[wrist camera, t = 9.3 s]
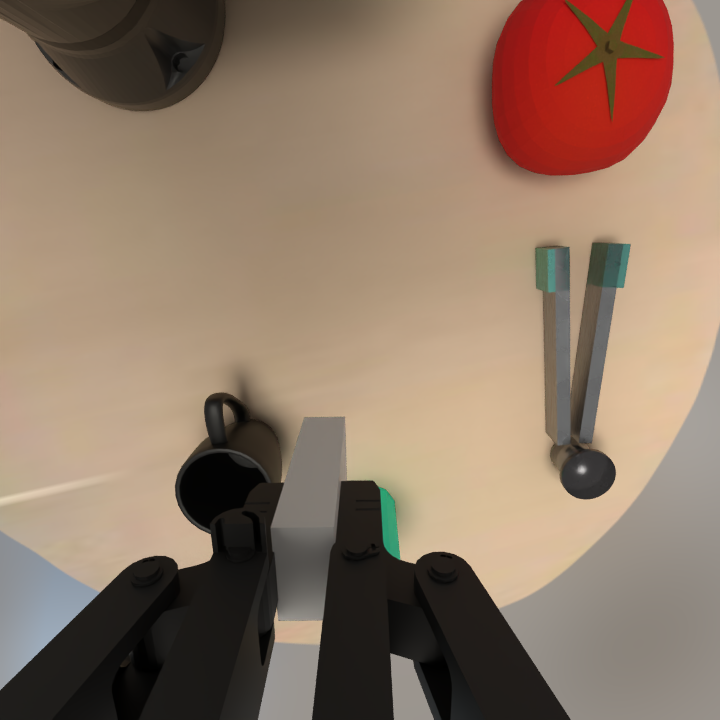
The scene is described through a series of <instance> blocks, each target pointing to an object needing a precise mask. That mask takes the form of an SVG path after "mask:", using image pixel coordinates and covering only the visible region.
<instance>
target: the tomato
mask: <svg viewBox="0 0 720 720" xmlns="http://www.w3.org/2000/svg"><path fill="white" fill-rule="evenodd" d="M673 50H674V42H673V32H672V25H671V21H670V18H669V14H668V10H667V8H666V6H665V4H664V2H663V0H522V1H521V2H520V3H519V4H518V6H517V7H516V8H515V10H514V11H513V12H512V14H511V15H510V16H509V18H508V19H507V21H506V24H505V26H504V28H503V31H502V33H501V35H500V38H499V40H498V42H497V45H496V50H495V56H494V61H493V73H492V108H493V117H494V124H495V128H496V131H497V135H498V138H499V141H500V143H501V144H502V146H503V148H504V150H505V152H506V153H507V155H508V156H509V157H510V158H511V159H512V160H513V161H514V162H515V163H516V164H518V165H519V166H520V167H523V168H525V169H527V170H529V171H532V172H534V173H539V174H545V175H550V176H551V175H576V174H582V173H588V172H593V171H597V170H600V169H604V168H608V167H610V166H612V165H614V164H616V163H618V162H620V161H622V160H623V159H625V158H626V157H627V156H628V155H629V154H630V153H631V152H632V151H633V150H634V149H635V148H636V147H637V146H638V145H639V144H640V143H641V142H642V141H643V140H644V139H645V137H646V136H647V134H648V133H649V131H650V130H651V128H652V127H653V125H654V124H655V122H656V120H657V118H658V116H659V114H660V112H661V110H662V108H663V107H664V105H665V103H666V100H667V97H668V93H669V90H670V87H671V82H672V72H673Z"/></svg>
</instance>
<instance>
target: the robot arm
mask: <svg viewBox="0 0 720 720" xmlns="http://www.w3.org/2000/svg"><path fill="white" fill-rule="evenodd" d="M0 18H1V19H3V20H5V21H7V22H8V23H10V24H12V25H14V26H15V27H17V28H19V29H21V30H22V31H24V32H26V33H27V34H28V35H29V37H30V38H31V39H32V40H34V42H35V43H36V45H37V47H38V48H39V49H40V51H41V52H42V54H43V55H44V56H45V58H46V59H47V60H48V61H49V63H50V64H51V65H52V66H53V67H54V68H55V69H56V70H57V71H58V72H59V73H60V74H61V75H62V76H63V77H64V78H65V79H66V80H68V81H69V82H70V83H71V84H73V85H74V86H75V87H77V88H78V89H80V90H81V91H83V92H85V93H86V94H88V95H90V96H92V97H94V98H96V99H98V100H101V101H103V102H105V103H107V104H109V105H112V106H115V107H118V108H122V109H126V110H134V111H149V110H156V109H161V108H164V107H167V106H170V105H173V104H175V103H177V102H179V101H180V100H182V99H184V98H185V97H187V96H188V95H189V94H191V93H192V92H193V91H194V90H195V89H196V88H197V87H198V86H199V85H200V84H201V83H202V82H203V80H204V79H205V78H206V76H207V75H208V73H209V72H210V70H211V69H212V67H213V65H214V63H215V61H216V58H217V56H218V53H219V50H220V47H221V43H222V39H223V34H224V26H225V3H224V0H0ZM210 530H211V538H212V546H213V555H212V557H211V559H210V561H208V562H205V563H203V564H199V565H196V566H192V567H188V568H183V569H179V570H178V565H177V563H176V562H175V561H174V560H173V559H172V558H169V557H166V556H152V557H148V558H143V559H141V560H139V561H137V562H135V563H132V564H131V565H130V566H128V567H127V568H126V569H124V570H123V571H122V572H121V573H120V574H119V575H118V576H117V577H116V578H115V579H114V580H113V581H112V582H111V583H110V584H109V585H108V586H107V587H106V588H105V589H104V590H103V591H102V592H101V593H99V595H97V596H96V597H95V599H93V600H92V601H91V602H90V603H89V604H88V605H87V606H86V607H85V608H84V609H83V610H82V611H81V612H80V613H79V614H78V615H77V616H76V617H75V618H74V619H73V620H72V621H71V622H70V623H69V624H68V625H67V626H66V627H65V628H64V629H63V630H62V631H61V632H60V633H59V634H57V635H56V637H54V638H53V639H52V640H51V641H50V642H49V643H48V644H47V645H46V646H45V647H44V648H43V649H42V650H41V651H40V652H39V653H38V654H37V655H36V656H35V657H34V658H33V659H32V660H31V661H30V662H29V663H28V664H27V665H26V666H25V667H24V668H23V669H22V670H21V671H20V672H19V673H18V674H17V675H16V676H15V677H14V678H12V679H11V680H10V681H9V682H8V683H7V684H6V685H5V686H4V687H3V688H2V689H1V690H0V720H258V716H259V710H260V706H261V702H262V697H263V692H264V687H265V683H266V678H267V672H268V668H269V664H270V659H271V654H272V650H273V645H274V640H275V629H274V617H275V613H276V608H277V611H278V621H304V620H323V623H322V632H321V642H320V651H319V660H318V670H317V678H316V688H315V697H314V706H313V716H312V720H394V716H393V697H392V678H391V660H390V653H392V654H395V655H399V656H402V657H405V658H408V659H411V660H413V662H414V668H415V670H416V673H417V676H418V678H419V681H420V683H421V686H422V689H423V691H424V694H425V697H426V699H427V702H428V705H429V707H430V710H431V713H432V715H433V718H434V720H570V718H569V716H568V715H567V713H566V712H565V710H564V709H563V707H562V706H561V704H560V703H559V701H558V700H557V698H556V697H555V695H554V694H553V692H552V691H551V689H550V687H549V686H548V684H547V683H546V681H545V680H544V678H543V677H542V675H541V674H540V672H539V671H538V669H537V667H536V666H535V664H534V663H533V661H532V660H531V658H530V657H529V655H528V654H527V652H526V651H525V649H524V648H523V646H522V645H521V643H520V641H519V640H518V639H517V637H516V635H515V634H514V632H513V631H512V629H511V628H510V626H509V625H508V623H507V622H506V620H505V619H504V617H503V615H502V614H501V613H500V611H499V609H498V608H497V606H496V605H495V603H494V602H493V600H492V599H491V597H490V596H489V594H488V592H487V591H486V589H485V588H484V586H483V585H482V583H481V582H480V580H479V579H478V577H477V576H476V574H475V573H474V571H473V570H472V568H471V566H470V565H469V564H468V563H467V562H466V561H465V560H464V559H462V558H461V557H459V556H457V555H455V554H451V553H447V552H432V553H429V554H426V555H423V556H422V557H421V558H420V559H418V560H417V562H416V564H413V563H409V562H405V561H402V560H399V559H397V558H396V557H394V556H392V555H391V554H390V553H389V552H388V551H387V550H386V548H385V547H384V543H383V530H382V512H381V494H380V489H379V487H378V486H377V485H376V484H375V482H374V481H347V466H346V433H345V417H304V420H303V423H302V426H301V430H300V433H299V436H298V440H297V443H296V446H295V449H294V453H293V456H292V459H291V462H290V466H289V469H288V472H287V476H286V479H285V482H284V483H259V484H258V485H257V486H256V487H255V488H254V489H253V490H251V491H250V492H249V495H248V497H247V500H246V502H245V505H244V507H243V508H237V509H232V510H229V511H226V512H223V513H221V514H220V515H218V516H217V517H215V518H214V519H213V521H212V522H211V523H210Z"/></svg>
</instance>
